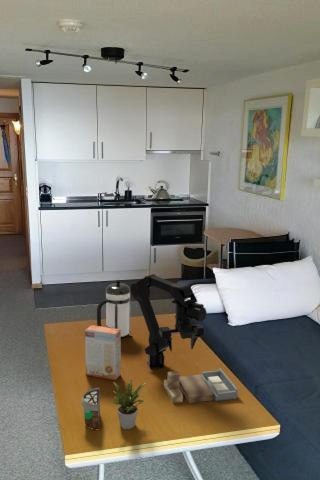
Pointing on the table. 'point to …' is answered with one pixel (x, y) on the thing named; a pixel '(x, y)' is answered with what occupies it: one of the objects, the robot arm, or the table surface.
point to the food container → (91, 407)
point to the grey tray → (225, 380)
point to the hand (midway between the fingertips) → (181, 350)
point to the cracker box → (103, 352)
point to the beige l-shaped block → (173, 387)
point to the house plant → (127, 405)
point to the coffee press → (116, 307)
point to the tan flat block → (195, 389)
